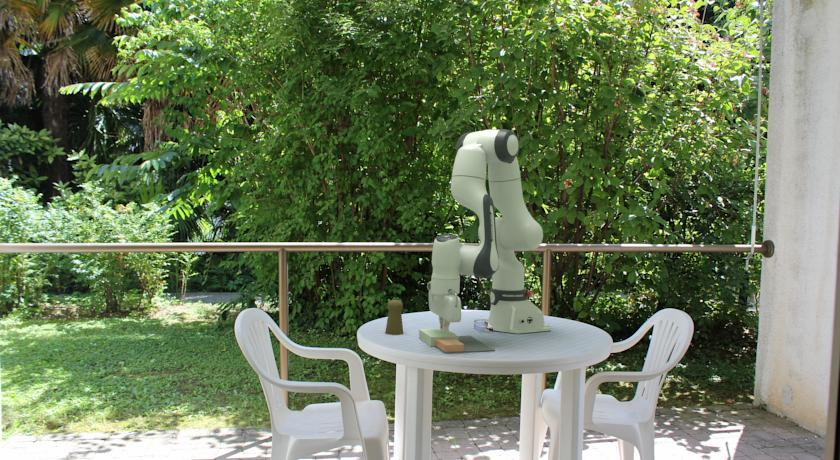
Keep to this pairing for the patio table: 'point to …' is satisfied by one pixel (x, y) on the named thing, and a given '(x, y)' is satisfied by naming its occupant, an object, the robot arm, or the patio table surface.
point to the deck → (434, 335)
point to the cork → (394, 318)
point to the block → (449, 345)
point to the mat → (471, 345)
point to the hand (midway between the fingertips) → (444, 331)
